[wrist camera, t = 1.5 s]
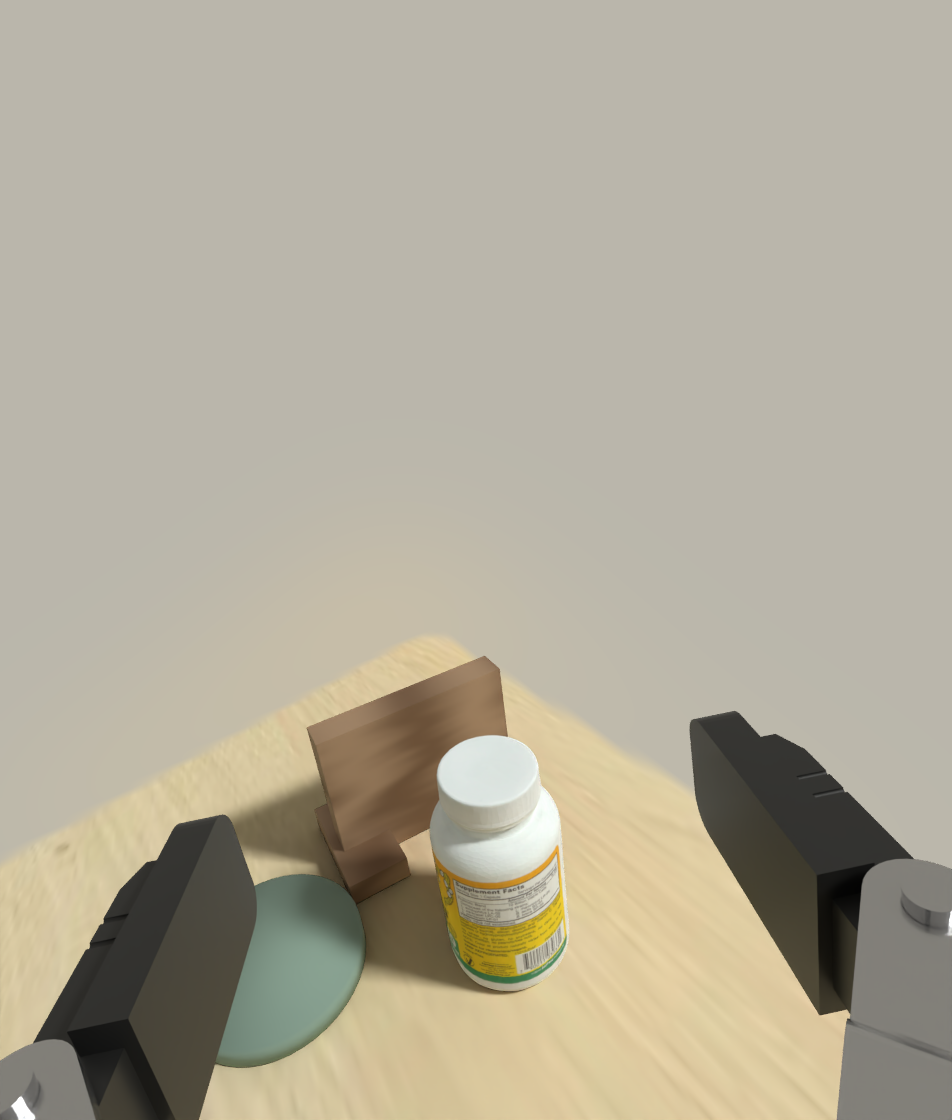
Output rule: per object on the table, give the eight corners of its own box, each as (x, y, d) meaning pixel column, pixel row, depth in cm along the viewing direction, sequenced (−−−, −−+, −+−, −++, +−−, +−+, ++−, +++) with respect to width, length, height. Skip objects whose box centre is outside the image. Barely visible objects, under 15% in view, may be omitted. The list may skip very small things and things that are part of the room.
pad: (145, 996, 28) (138, 981, 28) (289, 864, 34) (285, 850, 34) (256, 1114, 24) (249, 1098, 23) (402, 938, 29) (398, 923, 29)
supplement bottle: (561, 1007, 26) (544, 830, 22) (435, 984, 27) (397, 813, 24) (576, 891, 31) (564, 728, 27) (467, 876, 32) (441, 719, 28)
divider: (354, 905, 31) (318, 776, 28) (319, 825, 36) (285, 709, 33) (542, 804, 36) (530, 684, 33) (488, 746, 41) (473, 636, 37)
